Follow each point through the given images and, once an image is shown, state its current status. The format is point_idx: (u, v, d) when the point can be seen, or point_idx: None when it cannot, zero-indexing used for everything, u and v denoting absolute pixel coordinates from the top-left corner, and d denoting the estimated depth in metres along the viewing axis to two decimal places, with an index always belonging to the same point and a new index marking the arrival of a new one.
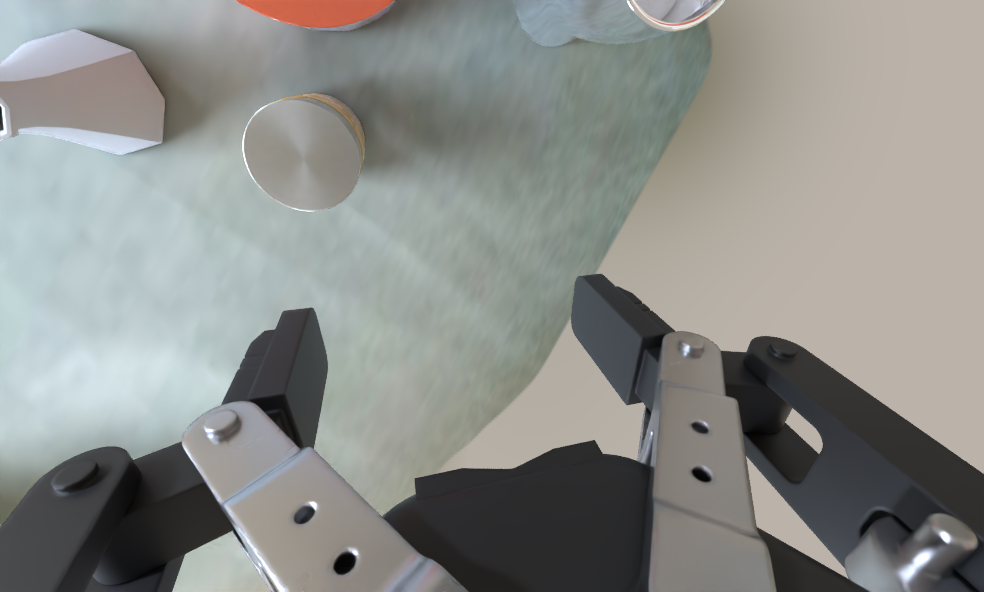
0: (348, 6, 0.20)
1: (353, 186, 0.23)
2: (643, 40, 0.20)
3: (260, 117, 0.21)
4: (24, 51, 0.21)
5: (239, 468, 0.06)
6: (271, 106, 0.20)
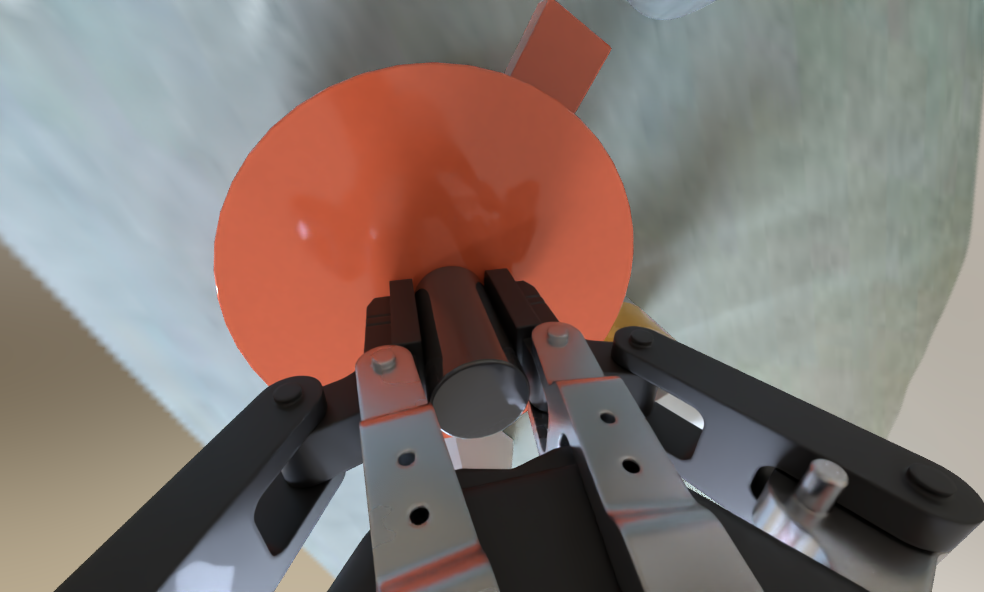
0: (603, 313, 0.15)
1: None
2: None
3: None
4: None
5: (382, 399, 0.07)
6: None
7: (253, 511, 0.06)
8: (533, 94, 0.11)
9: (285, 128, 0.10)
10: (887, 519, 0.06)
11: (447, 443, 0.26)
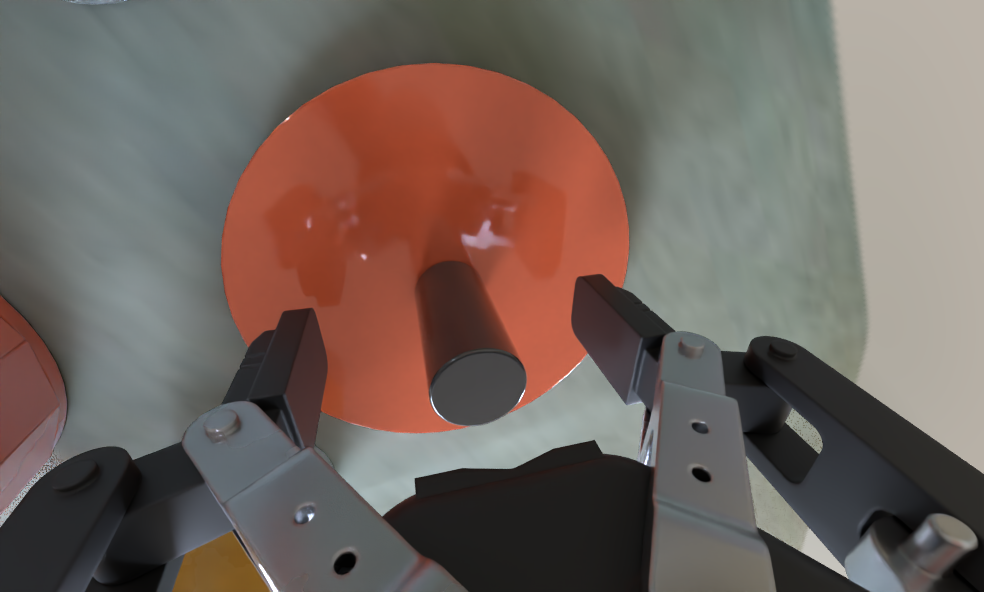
0: None
1: None
2: None
3: None
4: None
5: (239, 468, 0.06)
6: None
7: None
8: (530, 93, 0.11)
9: (291, 126, 0.10)
10: None
11: None
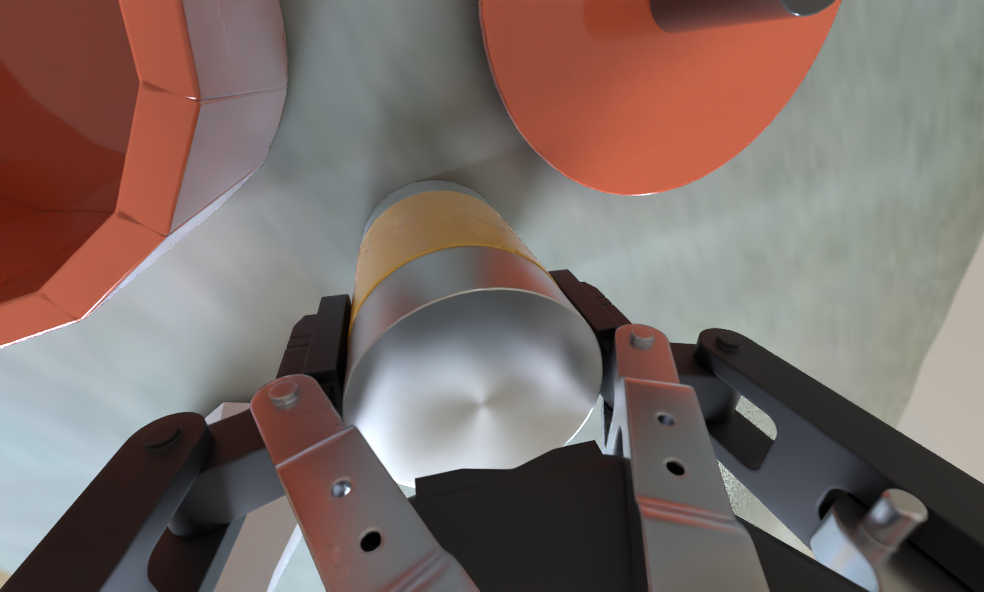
0: (806, 47, 0.15)
1: (595, 343, 0.09)
2: None
3: None
4: None
5: (293, 436, 0.07)
6: (349, 410, 0.08)
7: (145, 569, 0.05)
8: None
9: None
10: (971, 572, 0.05)
11: None
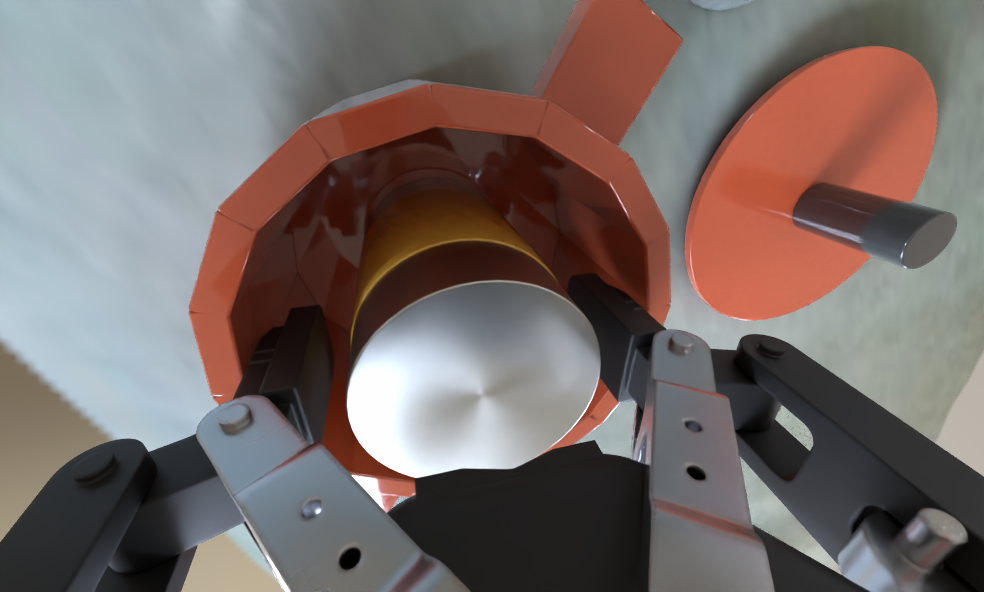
0: None
1: (593, 336, 0.09)
2: None
3: (364, 427, 0.09)
4: None
5: (250, 461, 0.06)
6: (353, 400, 0.08)
7: None
8: (916, 66, 0.17)
9: (790, 85, 0.16)
10: None
11: None
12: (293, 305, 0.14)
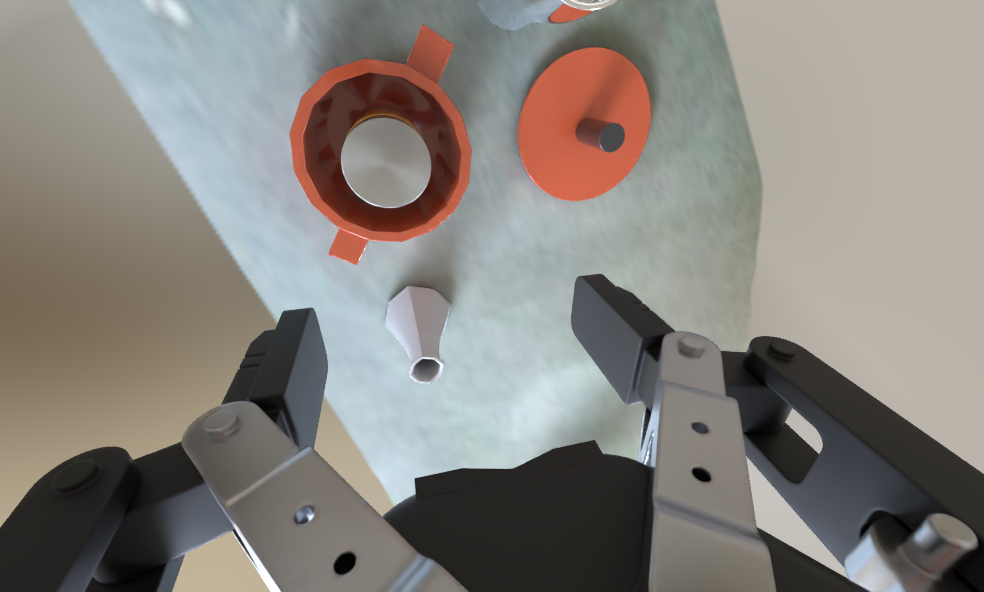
0: (638, 145, 0.40)
1: (424, 144, 0.27)
2: None
3: (347, 172, 0.27)
4: (395, 329, 0.41)
5: (239, 468, 0.06)
6: (343, 159, 0.26)
7: None
8: (621, 57, 0.35)
9: (553, 65, 0.34)
10: None
11: (404, 297, 0.41)
12: (318, 162, 0.32)
